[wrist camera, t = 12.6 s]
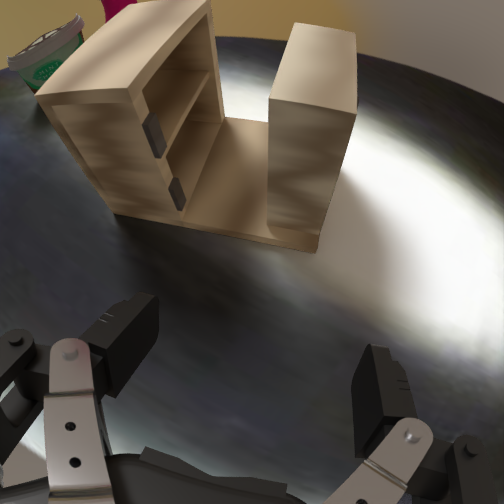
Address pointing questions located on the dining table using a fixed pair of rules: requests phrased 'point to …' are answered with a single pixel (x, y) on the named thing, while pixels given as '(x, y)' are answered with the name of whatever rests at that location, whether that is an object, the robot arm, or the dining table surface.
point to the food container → (47, 54)
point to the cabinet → (164, 125)
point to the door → (310, 125)
